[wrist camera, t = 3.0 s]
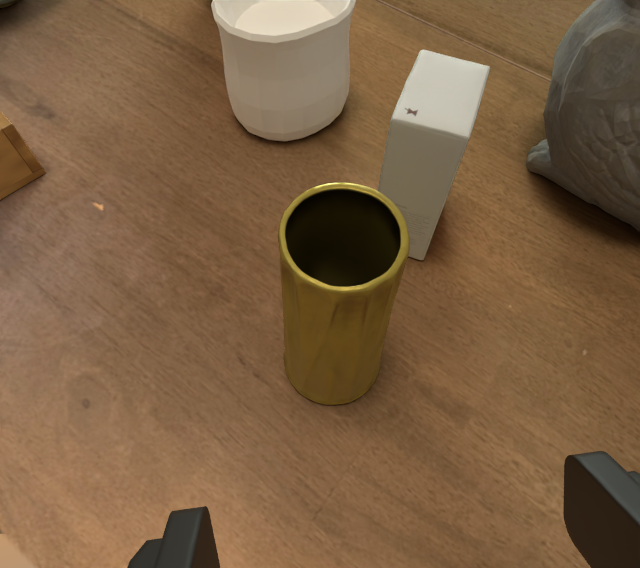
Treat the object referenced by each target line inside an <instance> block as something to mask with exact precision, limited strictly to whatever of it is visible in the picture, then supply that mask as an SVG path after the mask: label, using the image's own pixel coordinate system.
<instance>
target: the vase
mask: <svg viewBox="0 0 640 568" xmlns="http://www.w3.org/2000/svg"><path fill="white" fill-rule="evenodd" d="M278 242H279V248H280V264H281V281H282V299H283V318H284V343H285V351H284V365H285V369H286V373H287V376H288V378H289V380H290V382H291V383H292V385H293V386H294V387H295V389H296V390H297V391H298V392H299V393H300V394H301V395H303V396H305V397H306V398H308V399H310V400H312V401H314V402H317V403H320V404H326V405H336V404H345V403H349V402H351V401H354V400H355V399H357V398H359V397H360V396H362V395H363V394H365V393H366V392H367V391H368V390H369V389H370V387H371V386H372V385H373V383H374V381H375V380H376V378H377V376H378V373H379V370H380V358H381V353H382V349H383V345H384V339H385V335H386V331H387V328H388V324H389V319H390V315H391V311H392V307H393V303H394V299H395V296H396V293H397V290H398V287H399V284H400V280H401V277H402V274H403V270H404V267H405V264H406V262H407V259H408V255H409V249H410V237H409V233H408V228H407V225H406V221H405V219H404V217H403V215H402V213H401V212H400V210H399V209H398V208H397V206H396V205H395V204H394V203H393V202H392V201H391V200H390V199H389V198H387V197H386V196H385V195H384V194H382V193H380V192H379V191H377V190H375V189H372V188H369V187H366V186H363V185H359V184H354V183H329V184H323V185H319V186H316V187H314V188H311V189H309V190H307V191H305V192H304V193H302V194H301V195H299V196H298V197H297V198H296V199H295V200H294V201H293V202H292V203H291V204H290V205H289V207H288V208H287V209H286V210H285V212H284V214H283V216H282V218H281V221H280V226H279V232H278Z"/></svg>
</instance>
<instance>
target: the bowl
mask: <svg viewBox="0 0 640 568" xmlns="http://www.w3.org/2000/svg"><path fill="white" fill-rule="evenodd" d="M19 1H20V0H0V8H3V7H8V6H10V5H13V4H15V3H17V2H19Z"/></svg>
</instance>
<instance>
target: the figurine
mask: <svg viewBox="0 0 640 568" xmlns="http://www.w3.org/2000/svg"><path fill="white" fill-rule="evenodd" d="M543 115H544V122H545V130H546V137H547V140H542V141H541V142H540V143H538V145H536V146H533V147H532V148H531V150H530V151H529V153H528V158H527V162H526V165H527V167H528V170H530V171H532V172H534V173H537V174H540V175H542V176H544V177H546V178H548V179H550V180H551V181H553V182H555V183H556V184H558V185H559V186H561V187H562V188H564V189H566V190H567V191H569V192H571V193H572V194H574V195H576V196H577V197H579V198H581V199H582V200H584V201H586V202H587V203H590V204H595V205H596V206H598V207H600V208H601V209H602V210H604V211H605V212H607V213H609V214H611V215H613V216H615V217H616V218H618V219H620V220H622V221H623V222H626V223H629V224H630V225H631V226H633V227H634V228H635V229H636V230H637V231H639V232H640V0H595V1H594V2H593V3H592V4H591V5H590V6H589V7H588V8H587V9H586V10H585V11H584V12H583V13H582V14H581V15H580V16H579V17H578V18H577V20H576V21H575V22H574V23H573V24H572V25H571V27H570V28H569V29H568V31H567V32H566V34H565V36H564V37H563V39H562V40H561V42H560V44H559V46H558V48H557V51H556V53H555V56H554V64H553V71H552V78H551V83H550V88H549V93H548V98H547V103H546V106H545V110H544V114H543Z"/></svg>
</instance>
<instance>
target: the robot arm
mask: <svg viewBox="0 0 640 568" xmlns="http://www.w3.org/2000/svg"><path fill="white" fill-rule="evenodd" d="M564 520H565V524H566V528H567V531H568V533H569V536H570V538H571V540H572V542H573V543H574V545H575V546H576V548H577V549H578V550H579V552H580V553H581V554H582V556H583V557H584V558H585V560H586V561H587V563H588V564H589V565H590V567H591V568H640V474H639V473H637V472H635V471H631V472H627V471H626V470H625V469H623V468H622V467H621V466H620V465H619V464H618V463H617V462H616V461H615V460H614V459H613V458H612V457H611V456H610V455H608V454H607V453H606V452H604V451H597V452H590V453H583V454H576V455H569V456H567V458H566V460H565V465H564ZM128 568H220V564H219V559H218V554H217V549H216V544H215V539H214V534H213V529H212V524H211V519H210V514H209V511H208V508H207V507H206V506H205V507H198V508H191V509H184V510H177V511H172V512H171V513H170V515H169V518H168V522H167V525H166V528H165V531H164V535H163V538H161V539H154V540H147V541H146V542H145V543H144V545H143V546H142V547H141V548H140V549H139V551H138V552H137V553H136V554H135V556H134V557H133V558H132V559H131V560H130V562H129V565H128Z"/></svg>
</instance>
